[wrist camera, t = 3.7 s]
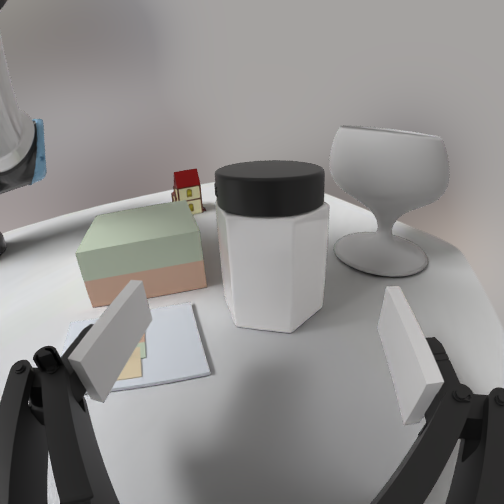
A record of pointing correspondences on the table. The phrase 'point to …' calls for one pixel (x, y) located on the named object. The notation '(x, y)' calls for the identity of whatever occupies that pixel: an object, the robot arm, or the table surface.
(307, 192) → the jar
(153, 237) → the tower base
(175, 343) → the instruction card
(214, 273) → the table surface
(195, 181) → the toy house
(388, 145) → the chalice
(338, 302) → the table surface
